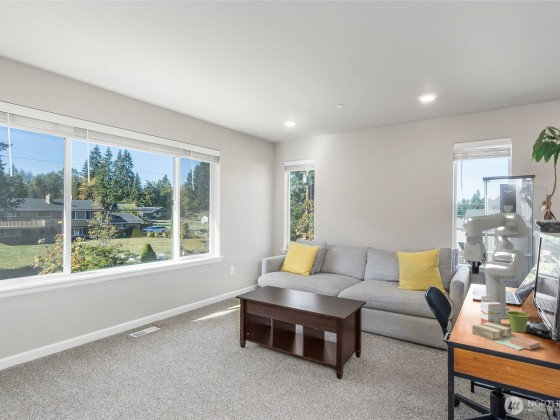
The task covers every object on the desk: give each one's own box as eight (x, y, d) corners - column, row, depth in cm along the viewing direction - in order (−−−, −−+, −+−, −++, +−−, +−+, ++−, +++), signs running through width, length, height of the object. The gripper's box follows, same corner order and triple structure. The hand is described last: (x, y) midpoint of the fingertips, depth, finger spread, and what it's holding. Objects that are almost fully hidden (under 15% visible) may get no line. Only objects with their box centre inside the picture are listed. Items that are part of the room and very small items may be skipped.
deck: (490, 329, 159) (490, 321, 159) (511, 336, 150) (511, 327, 150) (472, 333, 153) (472, 325, 153) (493, 341, 144) (493, 332, 144)
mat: (513, 336, 150) (513, 335, 150) (539, 344, 140) (539, 343, 140) (493, 341, 143) (493, 340, 143) (518, 350, 134) (518, 349, 134)
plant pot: (502, 329, 159) (502, 312, 160) (513, 326, 163) (513, 310, 164) (522, 335, 151) (522, 317, 151) (534, 332, 155) (533, 315, 155)
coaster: (540, 342, 137) (540, 346, 137) (520, 335, 144) (520, 340, 144) (529, 345, 133) (529, 349, 133) (509, 338, 141) (509, 343, 141)
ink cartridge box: (488, 326, 164) (488, 298, 164) (480, 323, 169) (480, 296, 169) (501, 325, 166) (501, 297, 166) (493, 322, 171) (493, 295, 171)
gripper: (457, 239, 175) (458, 272, 175) (484, 241, 161) (485, 276, 161) (466, 239, 178) (467, 271, 178) (493, 240, 165) (494, 275, 164)
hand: (475, 273), depth 169 cm, fingers closed
